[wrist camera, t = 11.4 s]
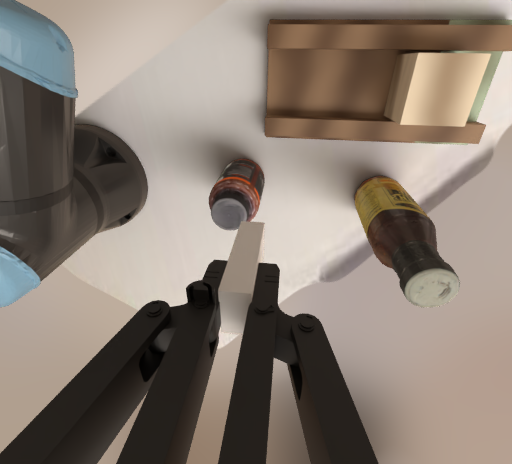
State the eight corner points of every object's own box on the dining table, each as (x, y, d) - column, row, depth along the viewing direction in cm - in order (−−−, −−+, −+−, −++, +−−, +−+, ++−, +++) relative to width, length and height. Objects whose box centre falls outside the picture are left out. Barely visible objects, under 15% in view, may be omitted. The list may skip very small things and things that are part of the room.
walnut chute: (266, 135, 37) (264, 140, 34) (270, 20, 31) (268, 16, 28) (462, 142, 35) (476, 149, 32) (508, 21, 29) (529, 16, 26)
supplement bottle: (217, 164, 40) (192, 196, 30) (257, 152, 38) (245, 182, 29) (231, 202, 42) (213, 242, 33) (270, 192, 41) (263, 232, 31)
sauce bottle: (409, 195, 39) (499, 297, 22) (370, 223, 42) (423, 333, 25) (380, 161, 37) (454, 244, 20) (341, 192, 40) (376, 289, 23)
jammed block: (383, 115, 33) (400, 124, 28) (397, 54, 30) (418, 52, 25) (437, 116, 33) (464, 126, 28) (457, 55, 30) (491, 53, 25)
